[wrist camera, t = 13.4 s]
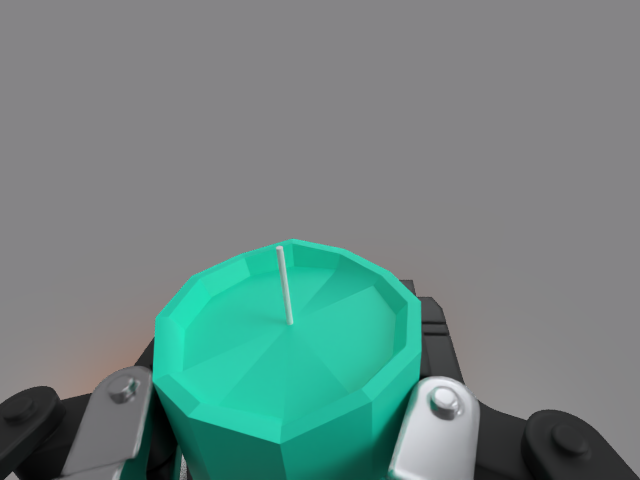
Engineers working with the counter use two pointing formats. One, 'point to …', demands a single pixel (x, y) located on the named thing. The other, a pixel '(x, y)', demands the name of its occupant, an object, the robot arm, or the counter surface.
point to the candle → (288, 365)
